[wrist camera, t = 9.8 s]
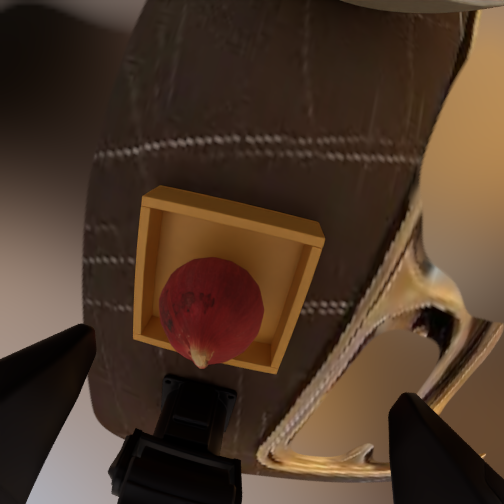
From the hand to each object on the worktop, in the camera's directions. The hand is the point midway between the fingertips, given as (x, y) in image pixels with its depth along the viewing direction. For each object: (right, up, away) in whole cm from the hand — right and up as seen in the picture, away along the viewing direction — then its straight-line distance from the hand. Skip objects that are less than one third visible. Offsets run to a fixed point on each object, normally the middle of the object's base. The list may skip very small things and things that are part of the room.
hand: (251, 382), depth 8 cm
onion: (-2, +2, +13) cm, 13 cm away
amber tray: (-2, +2, +13) cm, 14 cm away
